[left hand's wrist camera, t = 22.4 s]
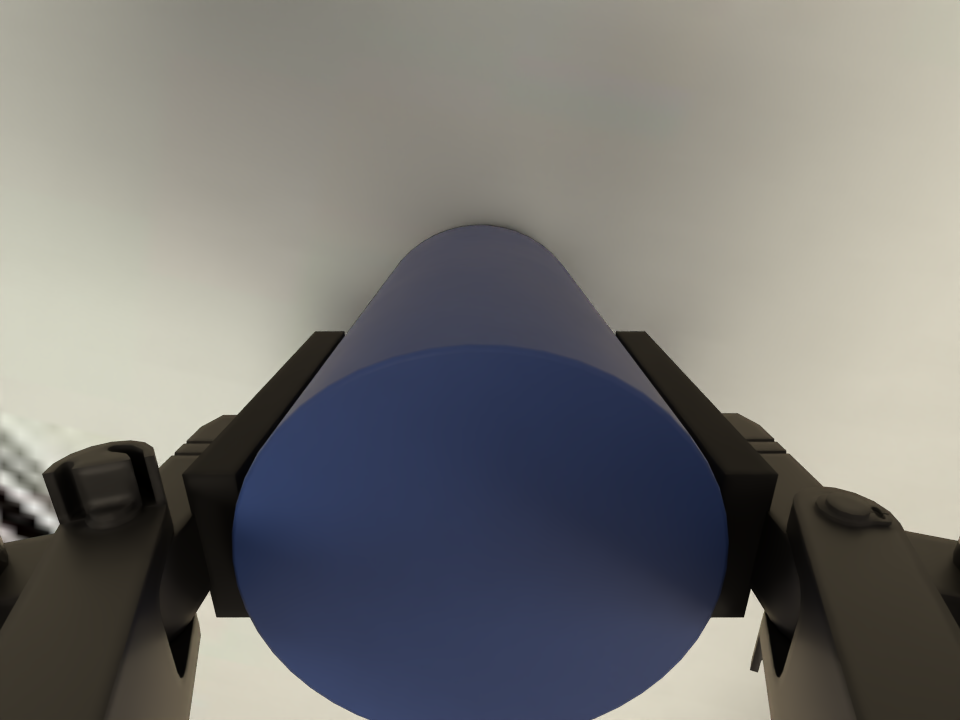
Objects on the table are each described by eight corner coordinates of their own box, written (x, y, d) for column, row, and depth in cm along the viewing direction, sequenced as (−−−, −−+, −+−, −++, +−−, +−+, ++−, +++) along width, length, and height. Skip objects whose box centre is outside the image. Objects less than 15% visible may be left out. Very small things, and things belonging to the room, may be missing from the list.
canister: (380, 215, 17) (204, 321, 6) (597, 235, 17) (797, 371, 6) (376, 411, 19) (247, 729, 9) (565, 426, 20) (669, 755, 9)
